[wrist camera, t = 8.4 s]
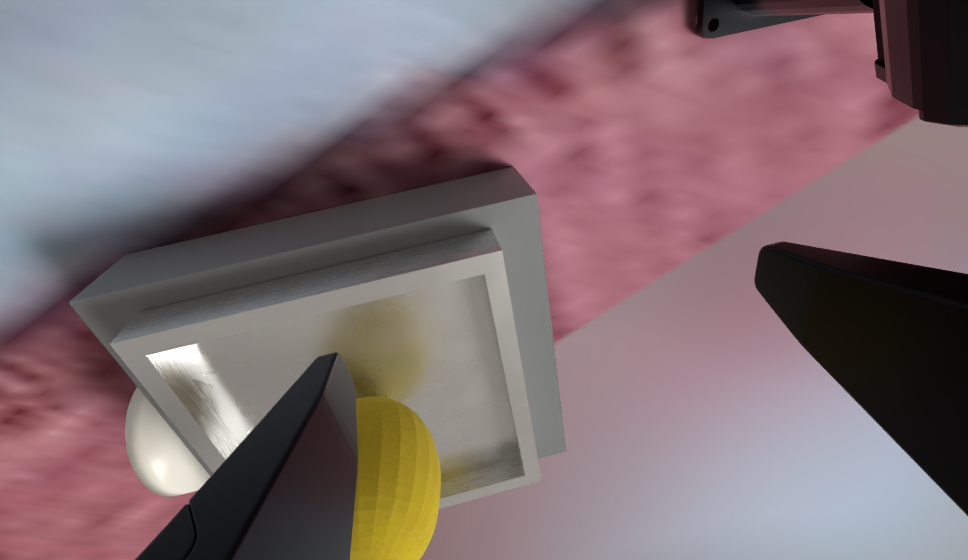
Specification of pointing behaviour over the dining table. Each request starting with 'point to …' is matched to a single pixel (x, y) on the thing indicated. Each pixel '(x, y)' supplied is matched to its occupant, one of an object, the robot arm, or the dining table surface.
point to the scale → (315, 246)
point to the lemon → (393, 482)
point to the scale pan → (355, 355)
